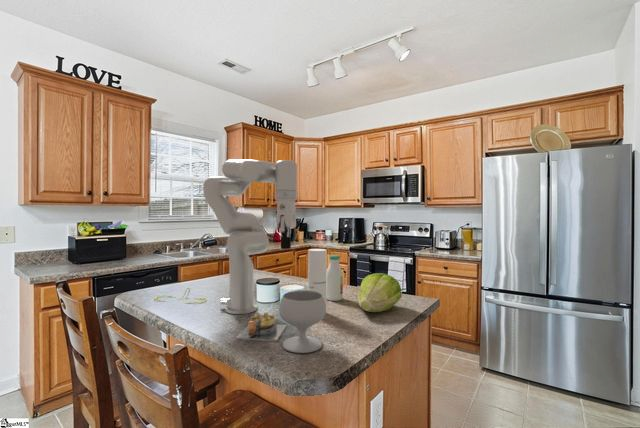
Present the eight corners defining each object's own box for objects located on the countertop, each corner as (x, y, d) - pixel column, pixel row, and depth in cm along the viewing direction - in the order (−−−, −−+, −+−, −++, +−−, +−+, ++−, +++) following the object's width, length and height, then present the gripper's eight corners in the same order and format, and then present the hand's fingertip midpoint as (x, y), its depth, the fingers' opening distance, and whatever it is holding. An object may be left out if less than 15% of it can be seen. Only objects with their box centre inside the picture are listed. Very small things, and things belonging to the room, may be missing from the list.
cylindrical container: (324, 316, 122) (324, 251, 122) (306, 315, 124) (306, 250, 124) (327, 311, 129) (327, 249, 129) (310, 309, 131) (310, 248, 131)
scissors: (150, 301, 144) (150, 290, 144) (165, 296, 153) (165, 286, 153) (199, 305, 138) (199, 294, 138) (212, 299, 147) (212, 289, 147)
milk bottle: (337, 302, 143) (337, 257, 142) (322, 299, 147) (322, 255, 147) (345, 298, 149) (345, 255, 149) (331, 296, 153) (331, 254, 153)
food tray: (256, 320, 110) (256, 308, 110) (277, 321, 109) (277, 310, 109) (238, 334, 97) (238, 321, 97) (262, 336, 95) (262, 323, 95)
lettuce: (342, 316, 126) (345, 281, 123) (366, 295, 146) (369, 265, 144) (383, 331, 117) (388, 294, 115) (403, 306, 138) (407, 275, 135)
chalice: (335, 348, 94) (335, 296, 94) (294, 360, 86) (294, 304, 86) (309, 333, 105) (309, 287, 105) (270, 343, 97) (270, 293, 97)
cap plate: (235, 339, 100) (235, 332, 100) (250, 324, 113) (250, 318, 113) (276, 341, 98) (276, 334, 98) (286, 326, 111) (286, 320, 111)
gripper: (291, 194, 105) (291, 251, 105) (300, 197, 119) (300, 246, 119) (269, 194, 106) (269, 250, 106) (281, 197, 120) (280, 246, 120)
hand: (285, 248), depth 113 cm, fingers closed
